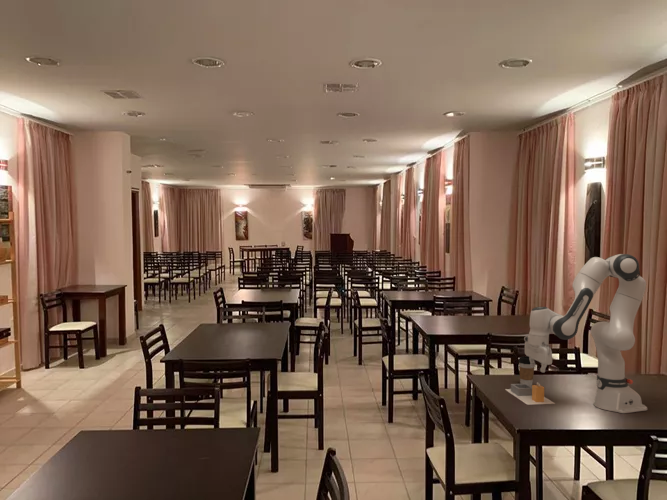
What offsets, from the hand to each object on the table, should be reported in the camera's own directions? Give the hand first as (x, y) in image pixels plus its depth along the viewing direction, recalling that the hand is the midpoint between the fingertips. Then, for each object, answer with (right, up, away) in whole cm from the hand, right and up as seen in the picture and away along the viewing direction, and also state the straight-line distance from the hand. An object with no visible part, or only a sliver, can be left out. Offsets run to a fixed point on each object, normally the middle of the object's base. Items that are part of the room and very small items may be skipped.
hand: (537, 369), depth 251 cm
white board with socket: (-1, -16, +7) cm, 18 cm away
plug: (0, -15, 0) cm, 15 cm away
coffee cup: (+5, -15, +29) cm, 33 cm away
